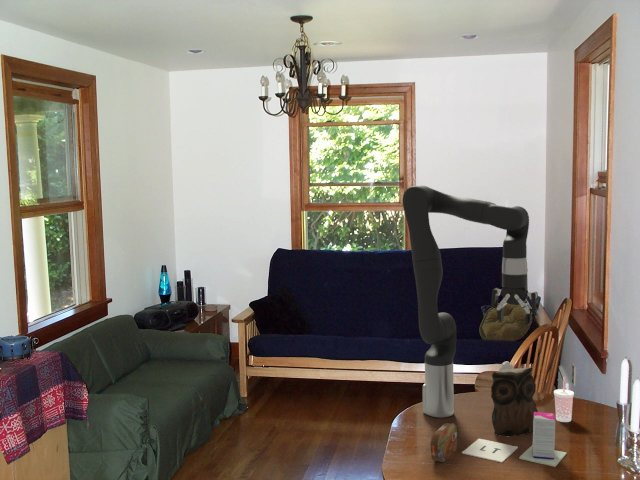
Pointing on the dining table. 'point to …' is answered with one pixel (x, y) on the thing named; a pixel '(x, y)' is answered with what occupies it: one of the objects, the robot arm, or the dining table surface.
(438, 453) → the tin
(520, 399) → the owl
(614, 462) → the dining table surface
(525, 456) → the sage mat
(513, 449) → the tile
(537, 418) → the supplement box
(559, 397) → the beverage cup
